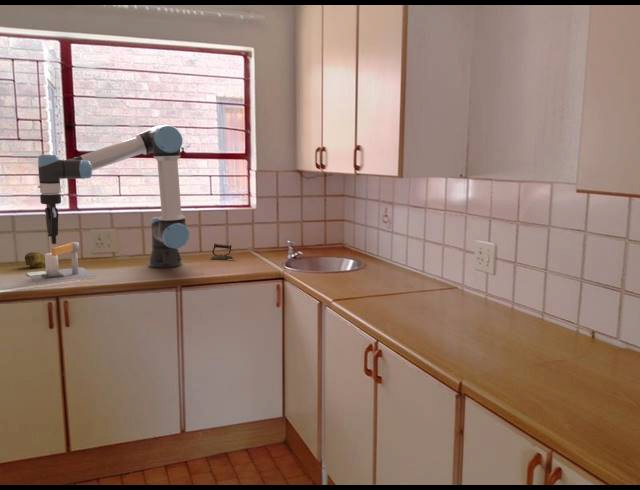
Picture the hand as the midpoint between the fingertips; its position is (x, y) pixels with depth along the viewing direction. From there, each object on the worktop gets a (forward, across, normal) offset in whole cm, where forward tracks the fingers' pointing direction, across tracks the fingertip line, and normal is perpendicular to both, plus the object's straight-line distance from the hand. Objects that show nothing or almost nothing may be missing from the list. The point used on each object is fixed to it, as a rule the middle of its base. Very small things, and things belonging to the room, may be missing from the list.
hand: (53, 251), depth 228 cm
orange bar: (+1, -1, +5) cm, 5 cm away
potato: (+13, -29, 0) cm, 32 cm away
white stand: (+13, -7, +4) cm, 15 cm away
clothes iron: (+13, -5, +79) cm, 80 cm away
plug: (+11, -5, 0) cm, 12 cm away
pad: (+12, -13, -4) cm, 18 cm away
